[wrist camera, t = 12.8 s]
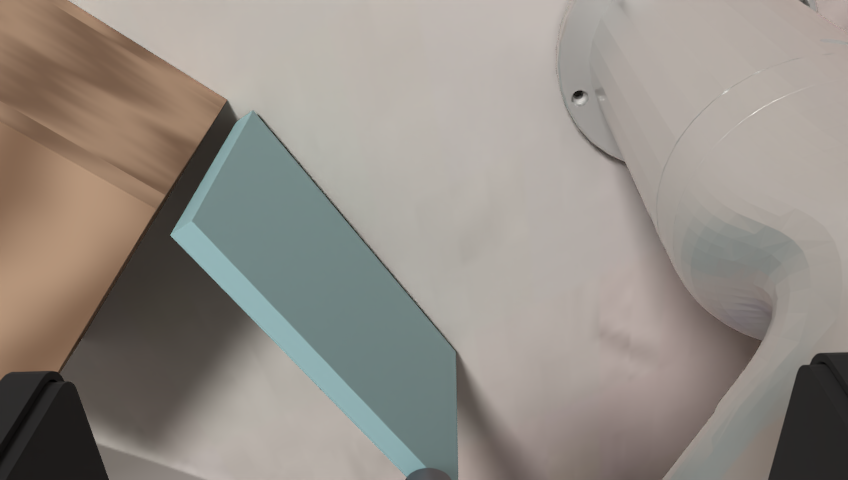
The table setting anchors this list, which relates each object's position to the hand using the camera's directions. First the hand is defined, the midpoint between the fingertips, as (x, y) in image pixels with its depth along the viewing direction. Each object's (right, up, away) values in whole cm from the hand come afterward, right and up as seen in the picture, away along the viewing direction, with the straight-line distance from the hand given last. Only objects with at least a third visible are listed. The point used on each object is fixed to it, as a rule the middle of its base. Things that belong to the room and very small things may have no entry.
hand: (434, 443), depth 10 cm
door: (-4, +2, +35) cm, 36 cm away
